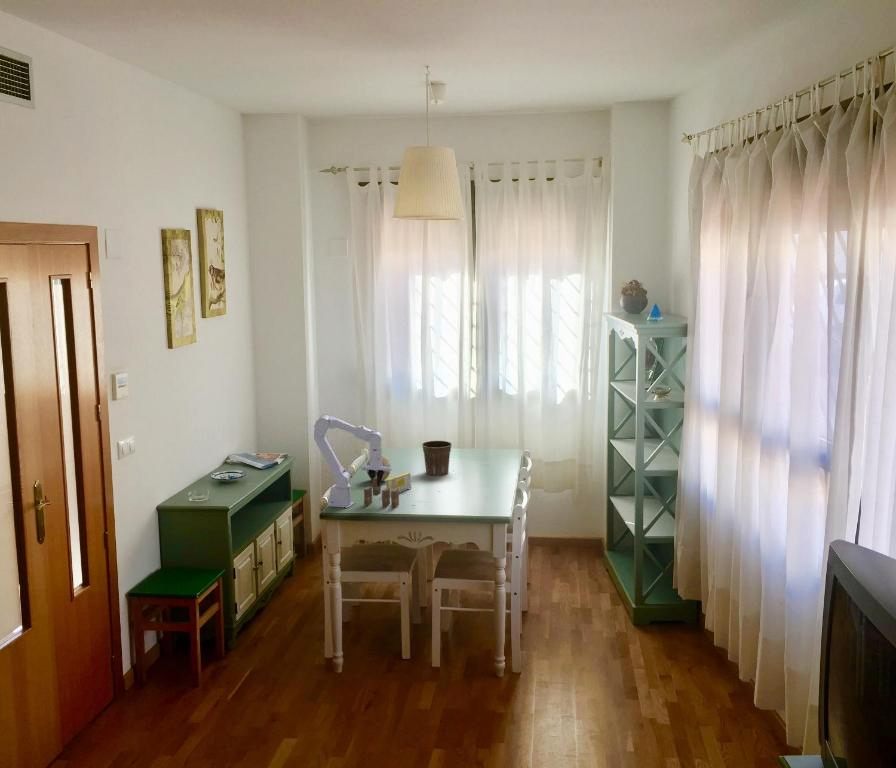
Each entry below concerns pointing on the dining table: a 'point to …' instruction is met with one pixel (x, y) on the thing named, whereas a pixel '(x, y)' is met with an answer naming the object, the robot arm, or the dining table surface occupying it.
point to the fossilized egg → (384, 463)
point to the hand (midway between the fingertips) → (376, 485)
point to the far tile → (394, 498)
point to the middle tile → (385, 497)
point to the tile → (376, 487)
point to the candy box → (399, 482)
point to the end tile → (367, 496)
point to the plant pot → (437, 457)
